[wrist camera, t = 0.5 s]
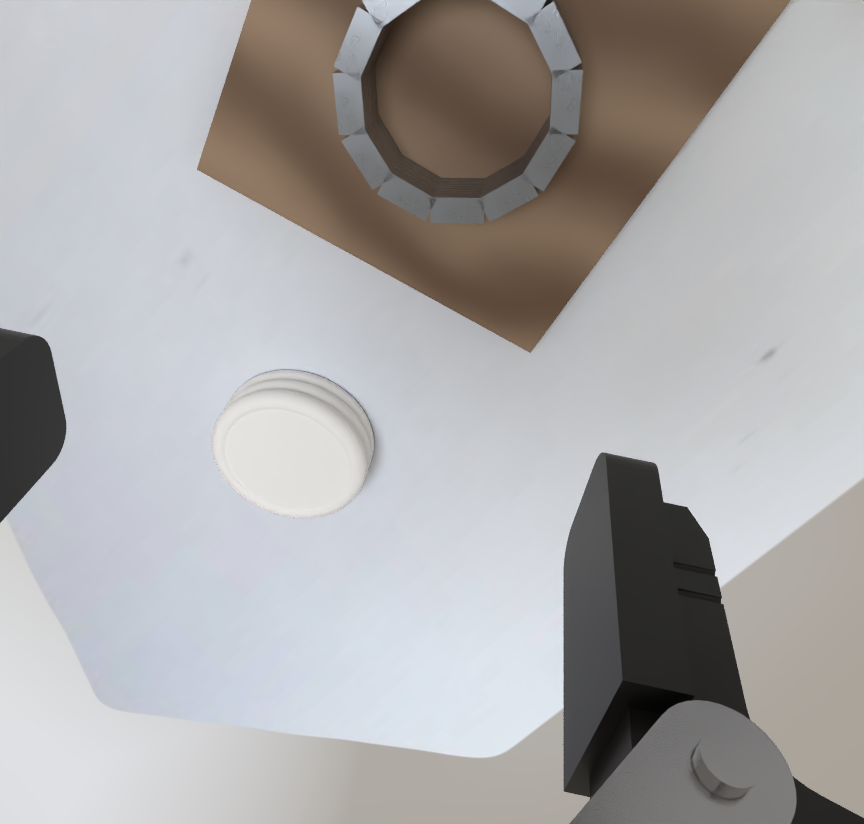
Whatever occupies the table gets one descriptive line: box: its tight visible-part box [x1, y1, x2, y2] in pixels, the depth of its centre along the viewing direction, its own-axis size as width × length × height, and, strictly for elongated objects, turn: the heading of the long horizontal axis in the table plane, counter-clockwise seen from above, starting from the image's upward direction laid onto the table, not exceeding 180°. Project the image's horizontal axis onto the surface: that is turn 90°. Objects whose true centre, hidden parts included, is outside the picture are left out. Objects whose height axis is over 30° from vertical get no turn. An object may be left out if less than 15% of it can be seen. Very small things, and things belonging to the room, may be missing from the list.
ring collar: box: [332, 0, 583, 224], centre depth 32 cm, size 10×10×3 cm
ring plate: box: [197, 0, 790, 353], centre depth 33 cm, size 20×20×2 cm
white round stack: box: [212, 370, 374, 518], centre depth 46 cm, size 10×10×4 cm
